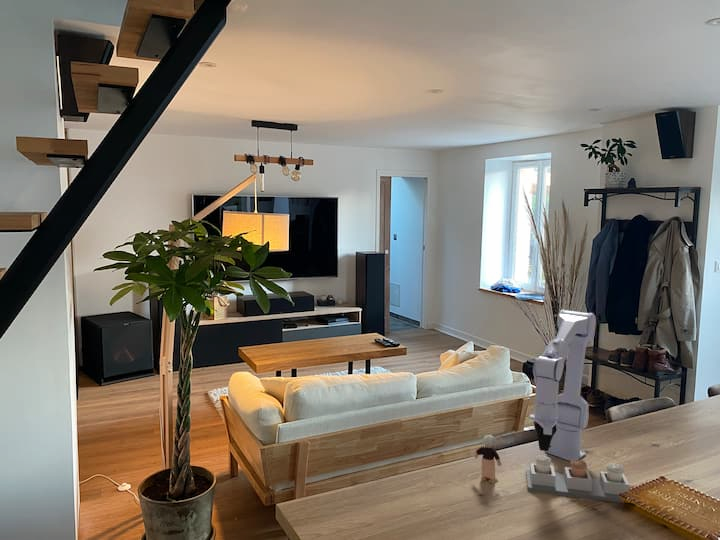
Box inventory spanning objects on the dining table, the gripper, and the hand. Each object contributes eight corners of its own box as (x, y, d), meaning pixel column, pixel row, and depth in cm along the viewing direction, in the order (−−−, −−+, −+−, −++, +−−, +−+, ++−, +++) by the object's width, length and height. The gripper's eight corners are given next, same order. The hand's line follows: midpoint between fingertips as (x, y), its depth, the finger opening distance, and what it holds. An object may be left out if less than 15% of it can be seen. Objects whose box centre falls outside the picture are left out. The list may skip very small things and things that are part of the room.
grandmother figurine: (502, 479, 150) (504, 435, 148) (499, 485, 146) (501, 440, 145) (474, 473, 153) (476, 430, 151) (471, 479, 149) (473, 435, 148)
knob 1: (535, 473, 145) (536, 461, 145) (534, 466, 149) (535, 454, 149) (551, 475, 145) (551, 463, 144) (549, 468, 148) (550, 456, 148)
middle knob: (571, 478, 143) (571, 465, 143) (568, 470, 147) (569, 458, 147) (587, 480, 142) (587, 467, 142) (584, 472, 146) (585, 460, 146)
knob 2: (607, 482, 141) (608, 469, 141) (604, 475, 145) (605, 462, 145) (624, 484, 140) (625, 471, 140) (620, 477, 144) (621, 464, 144)
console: (527, 490, 143) (528, 476, 143) (525, 472, 153) (526, 459, 153) (634, 504, 137) (635, 489, 137) (625, 484, 147) (626, 470, 147)
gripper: (528, 390, 152) (526, 437, 154) (532, 409, 138) (530, 460, 140) (555, 393, 151) (552, 439, 152) (561, 412, 137) (558, 463, 138)
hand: (543, 449), depth 146 cm, fingers closed
